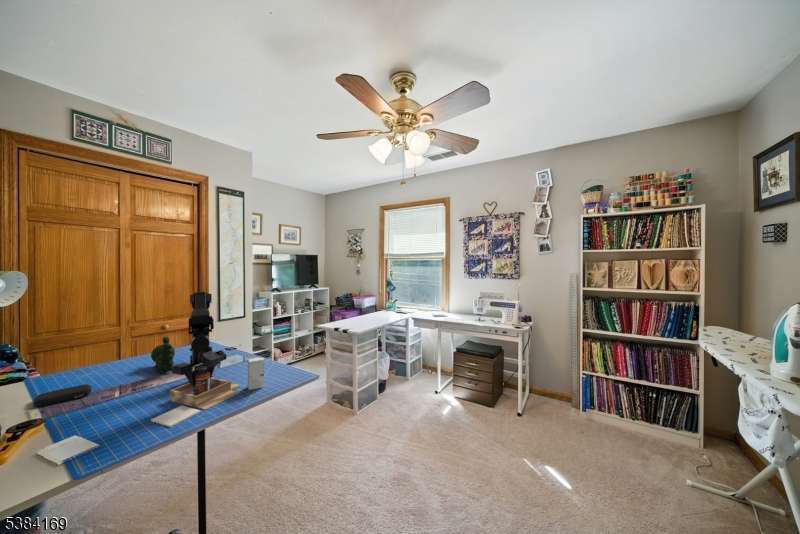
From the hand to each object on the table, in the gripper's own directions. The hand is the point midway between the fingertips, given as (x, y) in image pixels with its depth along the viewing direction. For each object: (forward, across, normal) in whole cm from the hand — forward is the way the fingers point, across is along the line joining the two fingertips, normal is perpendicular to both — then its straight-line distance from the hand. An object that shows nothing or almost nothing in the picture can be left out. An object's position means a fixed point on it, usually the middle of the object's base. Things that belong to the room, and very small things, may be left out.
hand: (201, 383), depth 118 cm
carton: (+5, +3, -2) cm, 6 cm away
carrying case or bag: (+6, -21, +47) cm, 52 cm away
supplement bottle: (+5, 0, 0) cm, 5 cm away
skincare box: (+5, +14, -14) cm, 20 cm away
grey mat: (+5, -14, -7) cm, 16 cm away
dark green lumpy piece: (+5, +13, +44) cm, 46 cm away
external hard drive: (+6, -37, +3) cm, 38 cm away
